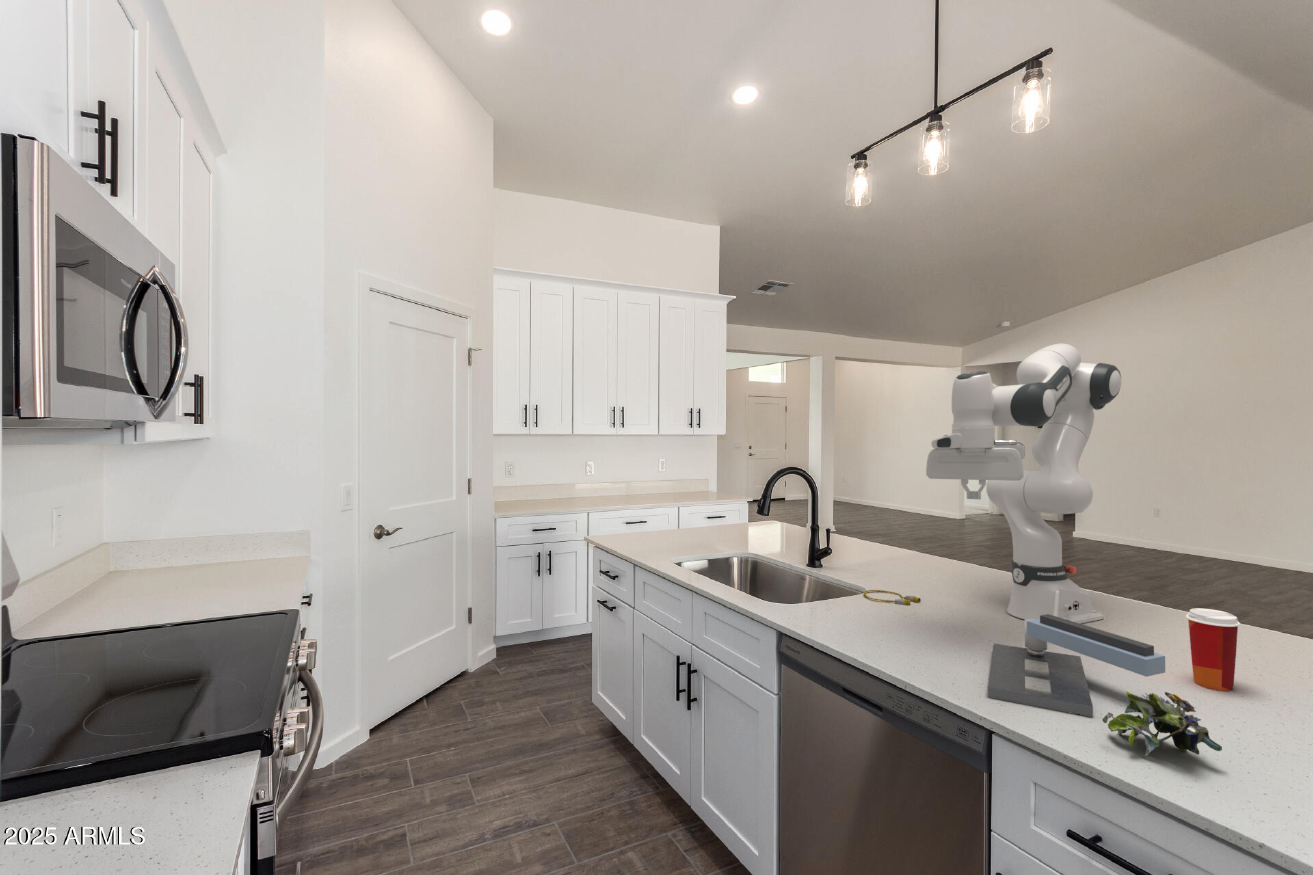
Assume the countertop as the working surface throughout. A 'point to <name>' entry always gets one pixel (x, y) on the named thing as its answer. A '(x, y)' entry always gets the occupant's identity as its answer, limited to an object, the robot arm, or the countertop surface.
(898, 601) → the extension cord
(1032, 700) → the dark grey base plate
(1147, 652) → the bar
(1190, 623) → the paper cup
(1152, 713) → the passion flower
